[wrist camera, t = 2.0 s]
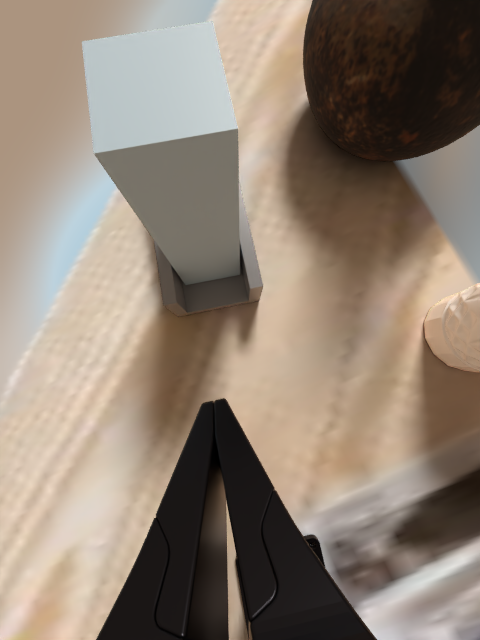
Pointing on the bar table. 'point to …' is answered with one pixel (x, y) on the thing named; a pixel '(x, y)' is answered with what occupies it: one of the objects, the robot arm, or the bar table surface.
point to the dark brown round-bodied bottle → (393, 74)
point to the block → (170, 141)
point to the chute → (214, 291)
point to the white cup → (456, 329)
